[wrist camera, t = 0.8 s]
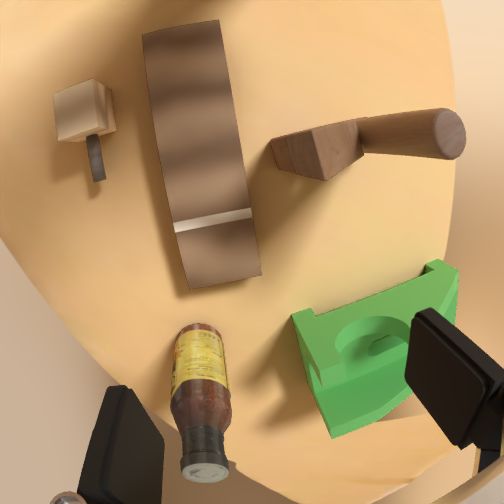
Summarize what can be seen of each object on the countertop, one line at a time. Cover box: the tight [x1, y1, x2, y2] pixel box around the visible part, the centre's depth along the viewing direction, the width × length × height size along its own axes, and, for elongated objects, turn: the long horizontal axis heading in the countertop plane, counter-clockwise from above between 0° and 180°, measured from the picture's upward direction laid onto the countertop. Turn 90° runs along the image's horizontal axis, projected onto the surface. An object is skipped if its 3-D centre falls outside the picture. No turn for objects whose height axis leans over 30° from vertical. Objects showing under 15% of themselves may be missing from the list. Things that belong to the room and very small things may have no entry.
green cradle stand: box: [291, 259, 459, 439], centre depth 36 cm, size 24×13×12 cm, turn 106°
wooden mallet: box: [270, 108, 466, 181], centre depth 24 cm, size 4×11×18 cm, turn 107°
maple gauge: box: [53, 79, 117, 182], centre depth 26 cm, size 10×4×6 cm, turn 9°
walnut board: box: [142, 20, 262, 289], centre depth 30 cm, size 28×8×3 cm, turn 9°
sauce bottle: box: [170, 323, 232, 483], centre depth 29 cm, size 7×6×20 cm
